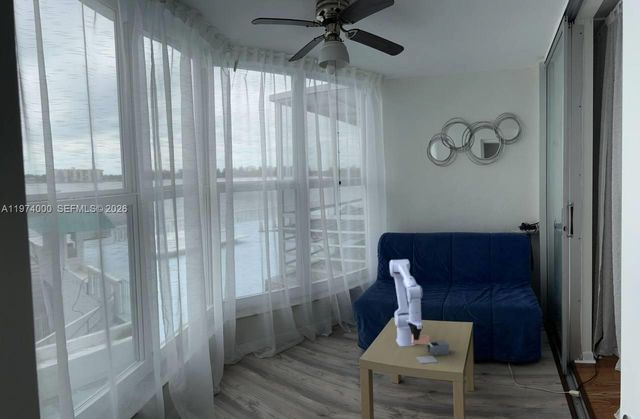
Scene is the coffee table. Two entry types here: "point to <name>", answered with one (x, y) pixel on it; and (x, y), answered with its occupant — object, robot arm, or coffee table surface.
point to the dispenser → (438, 348)
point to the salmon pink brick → (421, 339)
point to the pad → (427, 359)
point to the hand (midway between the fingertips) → (415, 338)
